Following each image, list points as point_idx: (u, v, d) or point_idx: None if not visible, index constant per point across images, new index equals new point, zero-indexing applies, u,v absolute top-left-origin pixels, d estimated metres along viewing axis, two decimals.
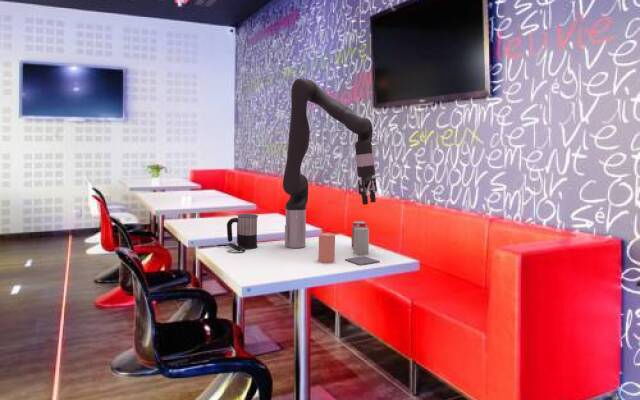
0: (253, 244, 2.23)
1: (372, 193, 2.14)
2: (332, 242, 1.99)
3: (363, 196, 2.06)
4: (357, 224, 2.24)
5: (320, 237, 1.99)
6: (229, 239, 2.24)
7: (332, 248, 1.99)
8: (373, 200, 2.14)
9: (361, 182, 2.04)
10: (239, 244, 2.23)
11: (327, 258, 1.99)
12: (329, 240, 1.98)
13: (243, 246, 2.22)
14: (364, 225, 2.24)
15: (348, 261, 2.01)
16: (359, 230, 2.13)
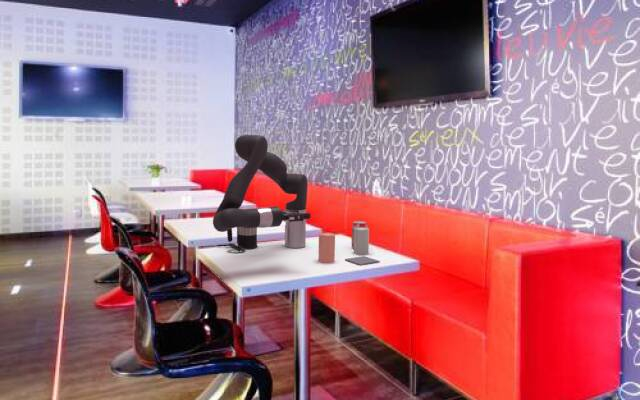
0: (253, 244, 2.23)
1: None
2: (332, 242, 1.99)
3: None
4: (357, 224, 2.24)
5: (320, 237, 1.99)
6: (229, 239, 2.24)
7: (332, 248, 1.99)
8: None
9: None
10: (239, 244, 2.23)
11: (327, 258, 1.99)
12: (329, 240, 1.98)
13: (243, 246, 2.22)
14: (364, 225, 2.24)
15: (348, 261, 2.01)
16: (359, 230, 2.13)
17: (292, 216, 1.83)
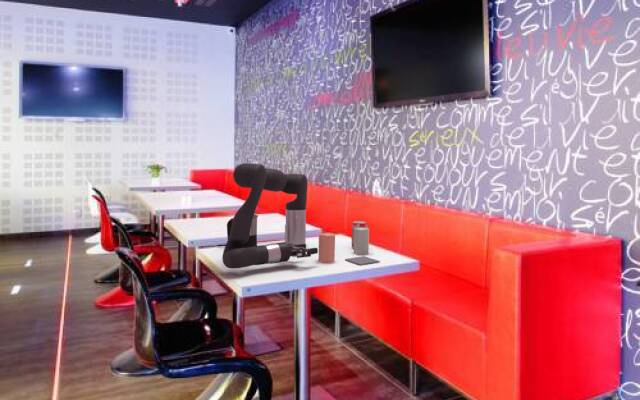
0: (253, 244, 2.23)
1: None
2: (332, 242, 1.99)
3: None
4: (357, 224, 2.24)
5: (320, 237, 1.99)
6: None
7: (332, 248, 1.99)
8: None
9: None
10: None
11: (327, 258, 1.99)
12: (329, 240, 1.98)
13: (243, 246, 2.22)
14: (364, 225, 2.24)
15: (348, 261, 2.01)
16: (359, 230, 2.13)
17: (300, 252, 1.86)
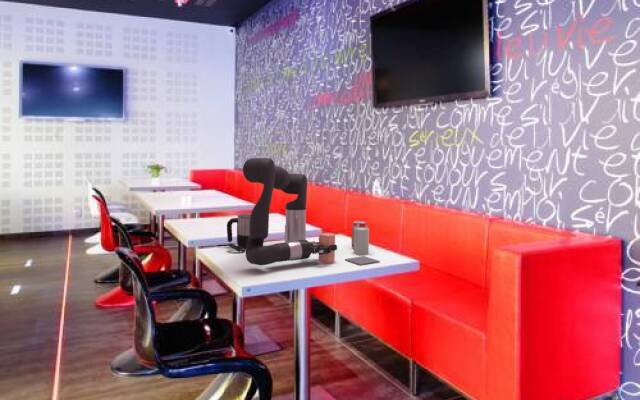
0: None
1: None
2: (332, 242, 1.99)
3: None
4: (357, 224, 2.24)
5: (320, 237, 1.99)
6: (229, 239, 2.24)
7: None
8: None
9: None
10: (239, 244, 2.23)
11: (327, 258, 1.99)
12: (329, 240, 1.98)
13: (243, 246, 2.21)
14: (364, 225, 2.24)
15: (348, 261, 2.01)
16: (359, 230, 2.13)
17: (322, 249, 1.92)
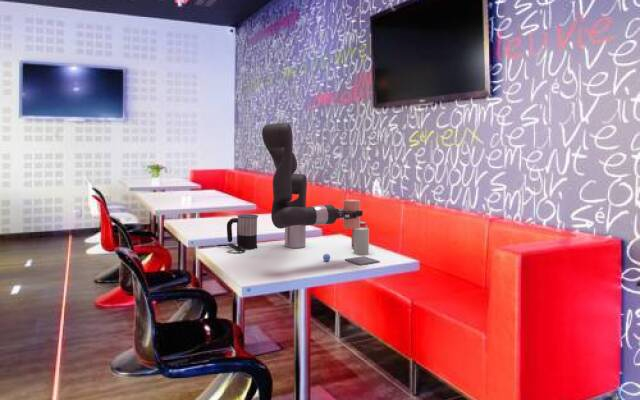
0: (253, 244, 2.22)
1: None
2: (357, 208, 1.97)
3: None
4: None
5: (345, 203, 1.97)
6: (229, 239, 2.24)
7: None
8: None
9: None
10: (239, 244, 2.22)
11: (352, 224, 1.97)
12: (354, 206, 1.96)
13: (243, 246, 2.21)
14: (364, 225, 2.24)
15: (348, 261, 2.01)
16: (359, 230, 2.13)
17: (348, 214, 1.90)
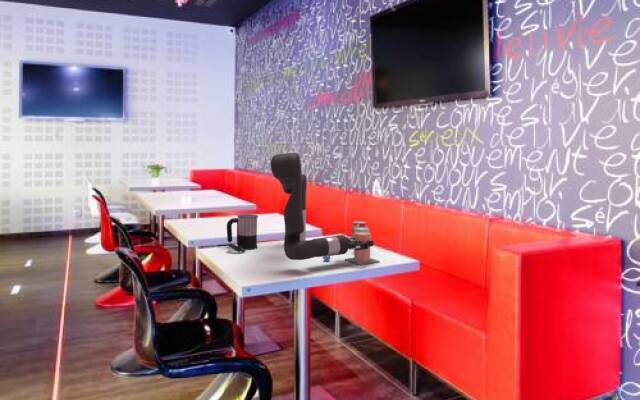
0: (253, 244, 2.22)
1: None
2: None
3: None
4: (357, 224, 2.24)
5: (356, 236, 1.99)
6: (229, 239, 2.23)
7: (368, 247, 1.99)
8: None
9: None
10: (239, 245, 2.22)
11: (363, 257, 1.98)
12: (365, 239, 1.98)
13: (243, 247, 2.21)
14: (364, 225, 2.24)
15: (348, 261, 2.01)
16: (359, 230, 2.13)
17: (358, 245, 1.91)
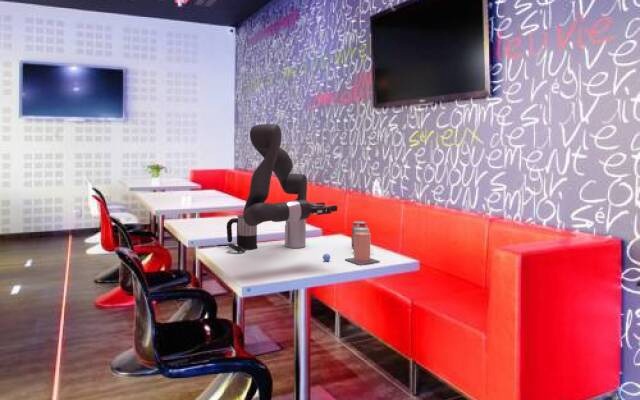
0: (253, 244, 2.22)
1: None
2: (368, 241, 1.99)
3: None
4: (357, 224, 2.24)
5: (356, 236, 1.99)
6: (229, 240, 2.23)
7: (368, 247, 1.99)
8: None
9: None
10: (239, 245, 2.22)
11: (363, 257, 1.98)
12: (365, 239, 1.98)
13: (243, 247, 2.21)
14: (364, 225, 2.24)
15: (348, 261, 2.01)
16: (359, 230, 2.13)
17: (320, 209, 1.85)
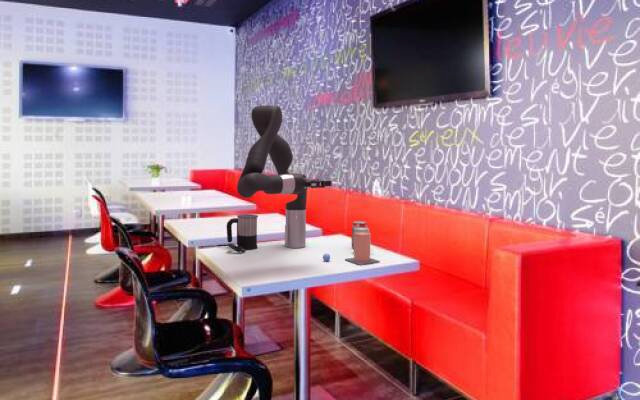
0: (253, 244, 2.22)
1: None
2: (368, 241, 1.99)
3: None
4: (357, 224, 2.24)
5: (356, 236, 1.99)
6: (229, 240, 2.23)
7: (368, 247, 1.99)
8: None
9: None
10: (239, 245, 2.22)
11: (363, 257, 1.98)
12: (365, 239, 1.98)
13: (243, 247, 2.21)
14: (364, 225, 2.24)
15: (348, 261, 2.01)
16: (359, 230, 2.13)
17: (314, 182, 1.85)
